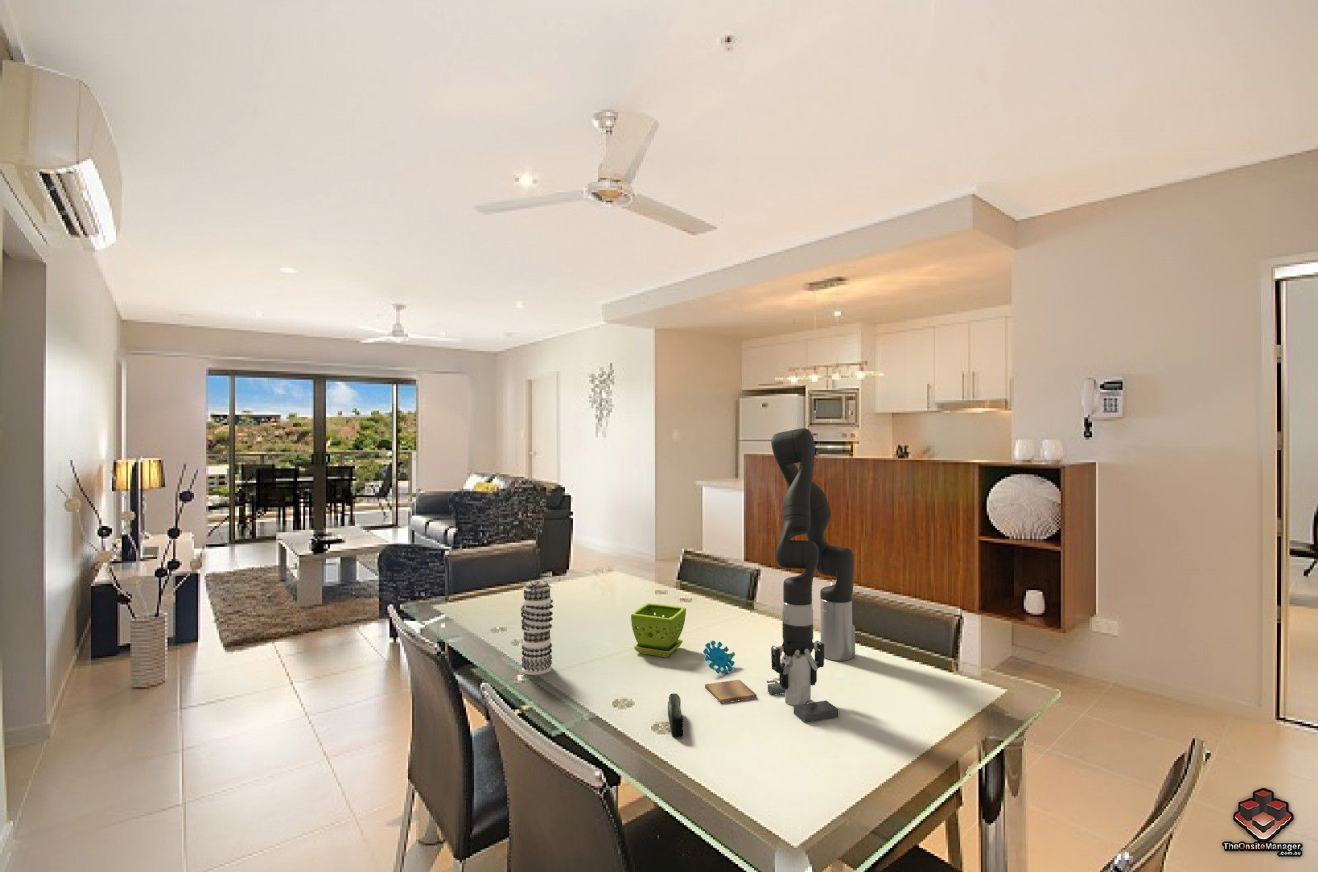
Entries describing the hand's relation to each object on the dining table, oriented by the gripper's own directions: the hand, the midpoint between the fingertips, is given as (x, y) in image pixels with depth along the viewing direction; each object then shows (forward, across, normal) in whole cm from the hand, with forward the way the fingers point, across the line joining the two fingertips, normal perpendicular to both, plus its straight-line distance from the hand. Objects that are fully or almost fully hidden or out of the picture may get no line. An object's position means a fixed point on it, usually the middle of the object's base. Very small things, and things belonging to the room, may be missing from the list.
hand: (798, 686), depth 149 cm
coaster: (+4, +14, -10) cm, 18 cm away
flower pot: (+4, +22, -46) cm, 51 cm away
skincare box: (+4, 0, 0) cm, 4 cm away
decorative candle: (+4, +60, -42) cm, 73 cm away
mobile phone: (+4, +33, +1) cm, 33 cm away
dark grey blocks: (+4, 0, 0) cm, 4 cm away
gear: (+4, +10, -26) cm, 28 cm away
